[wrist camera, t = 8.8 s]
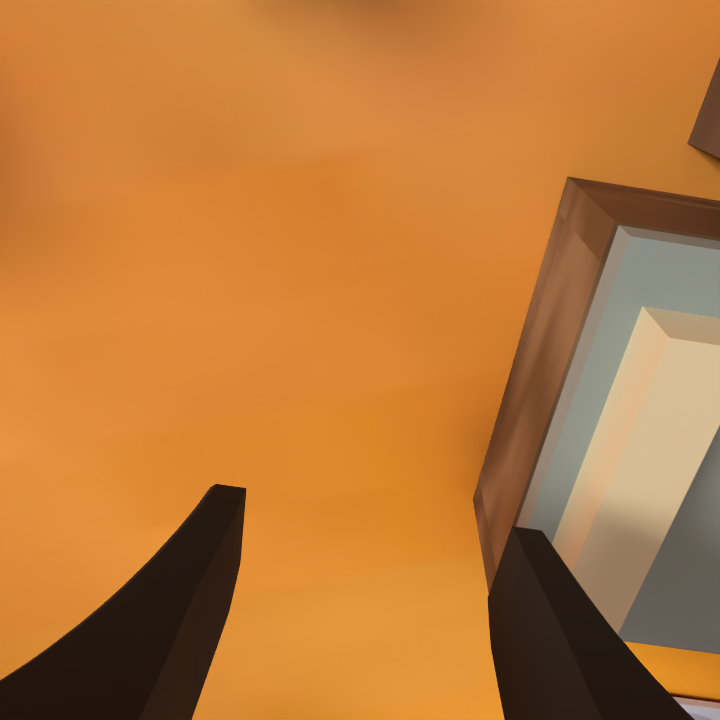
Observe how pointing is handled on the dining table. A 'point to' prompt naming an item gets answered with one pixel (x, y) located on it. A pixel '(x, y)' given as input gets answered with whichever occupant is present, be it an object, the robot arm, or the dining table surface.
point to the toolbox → (564, 334)
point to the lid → (642, 445)
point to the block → (709, 119)
